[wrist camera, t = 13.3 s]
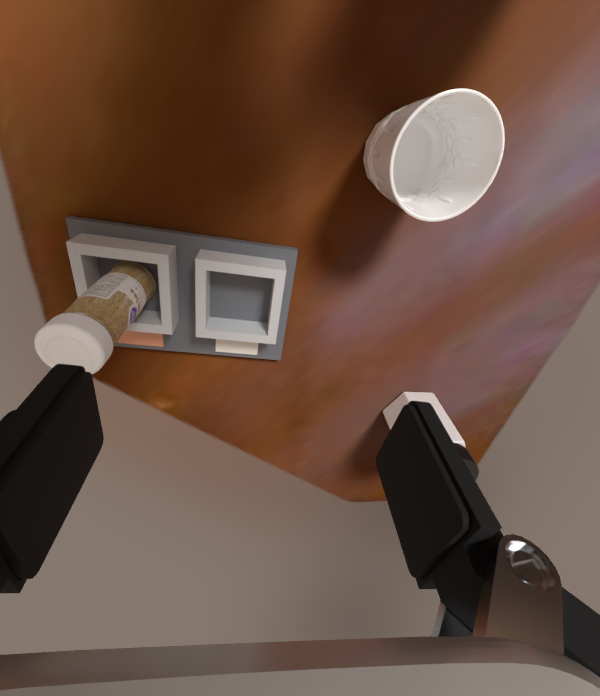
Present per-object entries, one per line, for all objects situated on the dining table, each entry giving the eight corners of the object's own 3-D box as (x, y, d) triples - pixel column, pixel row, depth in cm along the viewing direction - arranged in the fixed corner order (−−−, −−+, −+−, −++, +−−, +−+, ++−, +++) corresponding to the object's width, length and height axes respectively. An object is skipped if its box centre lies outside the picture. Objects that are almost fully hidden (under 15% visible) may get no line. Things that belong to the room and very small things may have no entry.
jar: (376, 400, 48) (405, 471, 38) (430, 380, 47) (475, 448, 37) (391, 437, 53) (420, 508, 43) (441, 420, 51) (482, 489, 41)
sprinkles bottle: (160, 300, 36) (110, 379, 24) (116, 299, 35) (45, 378, 24) (153, 259, 33) (93, 326, 22) (105, 257, 33) (19, 324, 21)
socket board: (70, 215, 31) (47, 225, 28) (297, 248, 35) (300, 260, 31) (95, 339, 39) (79, 359, 35) (280, 355, 42) (281, 375, 39)
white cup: (455, 150, 31) (525, 157, 23) (391, 216, 34) (431, 243, 25) (406, 77, 28) (466, 53, 19) (339, 156, 30) (366, 165, 22)
